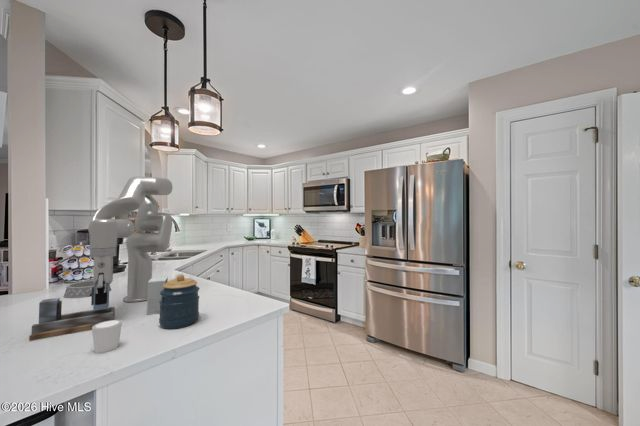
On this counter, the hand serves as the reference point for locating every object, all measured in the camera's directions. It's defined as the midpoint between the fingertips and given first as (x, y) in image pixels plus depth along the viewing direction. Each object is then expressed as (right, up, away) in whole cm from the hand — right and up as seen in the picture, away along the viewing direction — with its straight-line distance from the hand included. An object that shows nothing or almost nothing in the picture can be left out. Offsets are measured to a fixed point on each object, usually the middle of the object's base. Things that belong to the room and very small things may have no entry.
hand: (101, 302), depth 93 cm
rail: (-5, -7, -4) cm, 10 cm away
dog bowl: (-39, -9, +38) cm, 55 cm away
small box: (+12, -8, +13) cm, 19 cm away
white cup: (+17, -7, -18) cm, 26 cm away
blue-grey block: (0, -2, 0) cm, 2 cm away
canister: (+28, -8, +1) cm, 29 cm away
